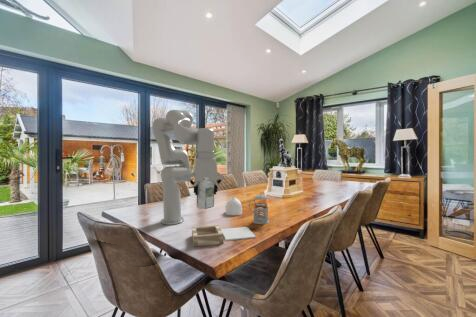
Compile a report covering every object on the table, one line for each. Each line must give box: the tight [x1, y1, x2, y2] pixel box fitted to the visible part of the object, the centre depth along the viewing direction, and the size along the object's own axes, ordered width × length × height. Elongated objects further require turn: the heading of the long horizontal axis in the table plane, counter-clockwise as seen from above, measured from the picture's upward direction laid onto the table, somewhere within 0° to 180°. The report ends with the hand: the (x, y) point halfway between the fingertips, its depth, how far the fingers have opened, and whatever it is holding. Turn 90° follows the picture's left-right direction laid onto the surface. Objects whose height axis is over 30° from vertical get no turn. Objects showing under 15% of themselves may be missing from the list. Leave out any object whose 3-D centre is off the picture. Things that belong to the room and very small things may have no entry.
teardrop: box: [224, 194, 243, 216], centre depth 151 cm, size 11×11×12 cm
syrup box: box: [196, 177, 215, 210], centre depth 107 cm, size 6×6×14 cm
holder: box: [191, 224, 224, 247], centre depth 107 cm, size 13×13×4 cm
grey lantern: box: [248, 177, 270, 225], centre depth 133 cm, size 10×12×25 cm
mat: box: [220, 226, 256, 242], centre depth 114 cm, size 14×14×1 cm
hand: (205, 194), depth 107 cm, fingers closed on syrup box, 8 cm apart
